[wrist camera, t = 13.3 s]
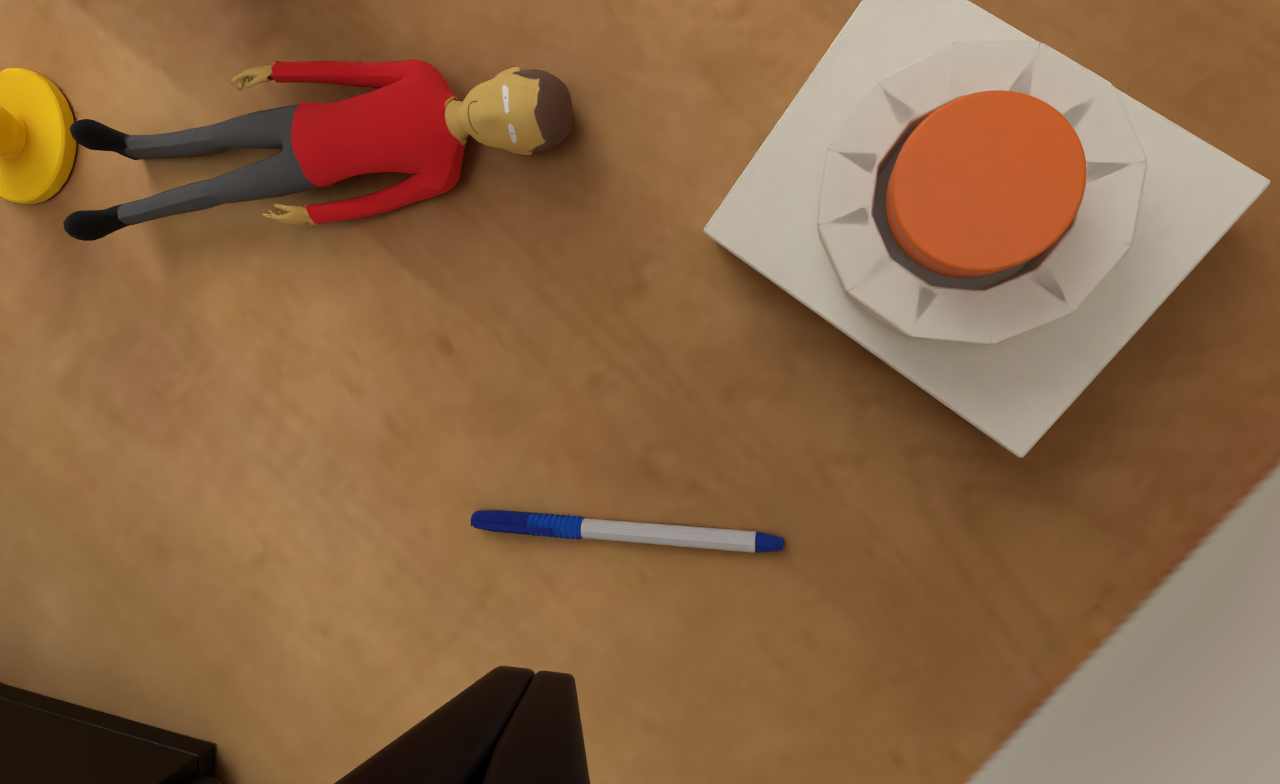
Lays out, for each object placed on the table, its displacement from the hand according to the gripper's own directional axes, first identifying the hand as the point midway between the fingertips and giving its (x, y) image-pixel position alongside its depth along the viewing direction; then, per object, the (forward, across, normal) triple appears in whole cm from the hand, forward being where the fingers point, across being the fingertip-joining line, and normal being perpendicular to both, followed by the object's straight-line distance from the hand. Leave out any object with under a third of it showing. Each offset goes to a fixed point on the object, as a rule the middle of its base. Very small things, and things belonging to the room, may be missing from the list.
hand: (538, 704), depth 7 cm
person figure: (+18, +12, -7) cm, 22 cm away
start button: (+11, -7, -6) cm, 14 cm away
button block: (+14, -8, -5) cm, 17 cm away
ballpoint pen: (+14, +1, +5) cm, 15 cm away
